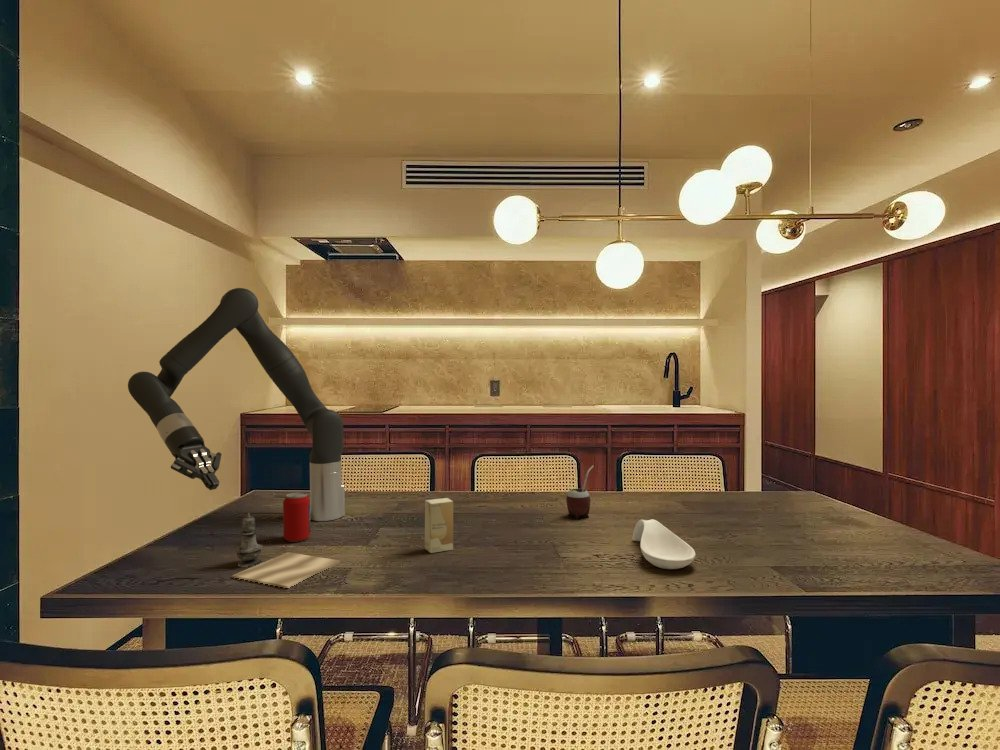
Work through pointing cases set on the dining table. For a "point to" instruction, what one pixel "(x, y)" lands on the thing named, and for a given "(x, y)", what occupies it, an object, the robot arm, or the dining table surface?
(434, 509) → the skincare box
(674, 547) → the spoon rest
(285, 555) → the birch board
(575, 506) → the mate gourd
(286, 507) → the beverage can
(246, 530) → the grey chess piece
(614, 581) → the dining table surface
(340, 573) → the dining table surface
